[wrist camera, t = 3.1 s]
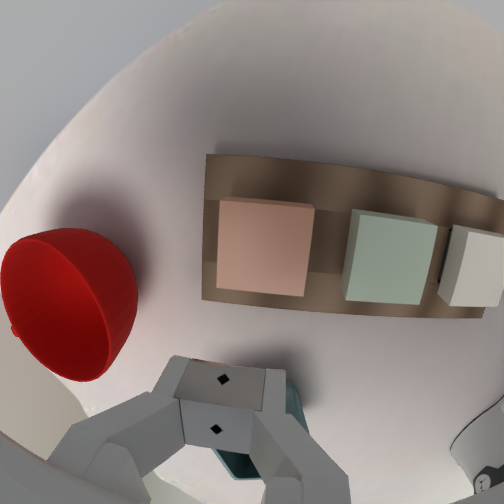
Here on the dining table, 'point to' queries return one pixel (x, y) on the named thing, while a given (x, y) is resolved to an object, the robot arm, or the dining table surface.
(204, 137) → the dining table surface
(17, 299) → the ceramic cup
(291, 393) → the flower pot
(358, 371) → the dining table surface
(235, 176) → the button board
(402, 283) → the sage tile
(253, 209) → the pink square block
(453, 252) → the white square block
